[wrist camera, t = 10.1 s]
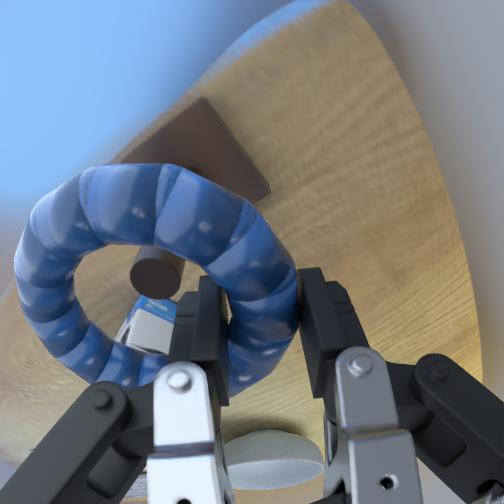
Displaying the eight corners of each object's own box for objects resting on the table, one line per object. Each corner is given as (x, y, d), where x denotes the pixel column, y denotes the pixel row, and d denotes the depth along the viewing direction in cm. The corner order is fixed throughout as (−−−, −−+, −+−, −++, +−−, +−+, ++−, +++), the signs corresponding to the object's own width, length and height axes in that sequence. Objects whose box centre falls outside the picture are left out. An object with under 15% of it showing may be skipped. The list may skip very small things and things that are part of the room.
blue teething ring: (166, 81, 8) (145, 86, 6) (340, 314, 12) (354, 356, 10) (-2, 261, 10) (-29, 294, 8) (158, 396, 15) (152, 432, 13)
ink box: (144, 285, 27) (111, 398, 17) (192, 310, 29) (180, 424, 19) (112, 336, 31) (83, 434, 21) (153, 356, 33) (136, 454, 23)
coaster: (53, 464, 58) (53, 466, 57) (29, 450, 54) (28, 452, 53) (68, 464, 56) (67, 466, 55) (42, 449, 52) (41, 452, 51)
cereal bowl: (191, 441, 45) (189, 480, 39) (261, 403, 38) (265, 451, 32) (268, 462, 51) (271, 495, 45) (338, 429, 45) (347, 467, 39)
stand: (203, 95, 19) (164, 128, 9) (269, 185, 23) (300, 298, 13) (116, 165, 22) (29, 259, 11) (183, 241, 25) (155, 369, 15)
